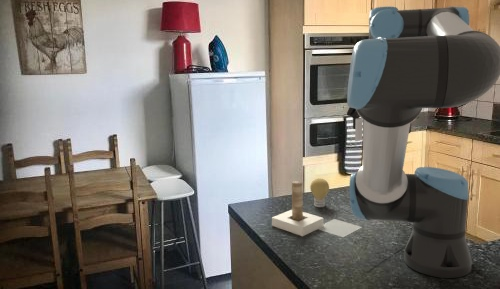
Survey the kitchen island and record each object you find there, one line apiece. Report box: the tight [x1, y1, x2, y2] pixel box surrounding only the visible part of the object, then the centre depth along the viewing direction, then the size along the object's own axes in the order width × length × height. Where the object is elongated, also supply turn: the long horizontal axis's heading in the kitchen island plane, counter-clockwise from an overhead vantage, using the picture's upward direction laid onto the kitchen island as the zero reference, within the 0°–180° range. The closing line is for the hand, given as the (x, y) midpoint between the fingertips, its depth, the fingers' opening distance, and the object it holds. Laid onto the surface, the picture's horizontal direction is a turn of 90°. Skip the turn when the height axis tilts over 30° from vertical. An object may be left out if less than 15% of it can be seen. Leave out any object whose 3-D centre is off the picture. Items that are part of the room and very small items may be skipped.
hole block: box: [271, 209, 325, 237], centre depth 128 cm, size 12×10×3 cm
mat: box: [318, 218, 363, 238], centre depth 126 cm, size 10×10×1 cm
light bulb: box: [309, 177, 330, 208], centre depth 145 cm, size 6×6×10 cm
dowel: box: [291, 180, 304, 222], centre depth 127 cm, size 3×3×14 cm
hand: (380, 142), depth 119 cm, fingers open, 13 cm apart
